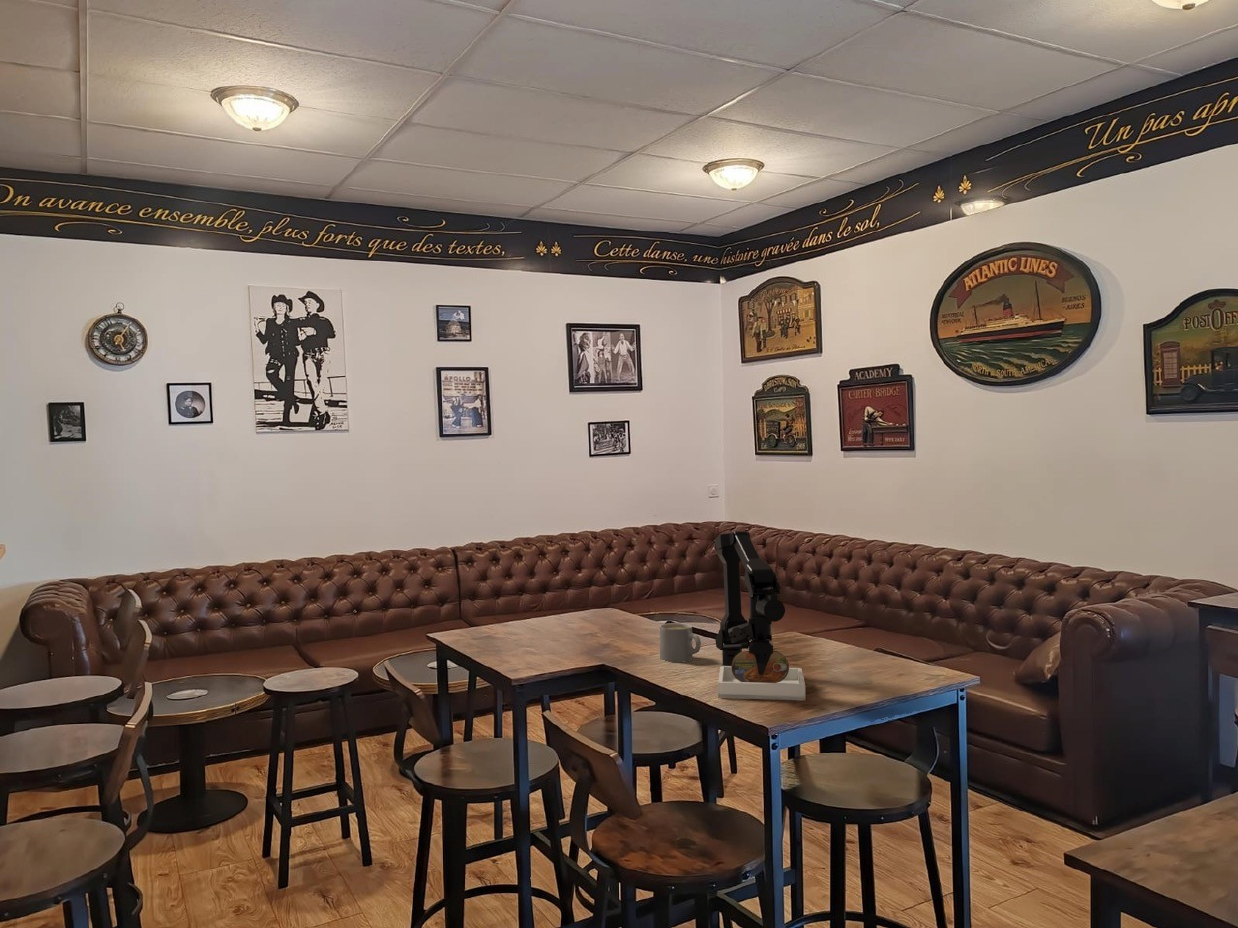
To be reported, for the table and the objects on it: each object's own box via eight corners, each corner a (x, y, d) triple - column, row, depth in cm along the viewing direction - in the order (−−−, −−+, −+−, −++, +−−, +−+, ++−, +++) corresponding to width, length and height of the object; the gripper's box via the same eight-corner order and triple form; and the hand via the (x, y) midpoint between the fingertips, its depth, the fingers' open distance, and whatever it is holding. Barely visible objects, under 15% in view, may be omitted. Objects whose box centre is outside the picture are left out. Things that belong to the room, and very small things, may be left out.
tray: (720, 680, 250) (720, 665, 250) (801, 682, 247) (801, 667, 247) (718, 697, 232) (718, 682, 232) (805, 700, 229) (805, 684, 229)
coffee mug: (653, 658, 277) (653, 626, 277) (675, 653, 284) (675, 621, 284) (685, 665, 267) (684, 632, 267) (707, 660, 274) (707, 627, 274)
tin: (731, 683, 239) (730, 651, 239) (732, 680, 242) (731, 649, 242) (789, 683, 237) (788, 651, 237) (789, 680, 240) (788, 648, 240)
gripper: (730, 607, 250) (730, 664, 250) (729, 620, 231) (729, 681, 231) (771, 608, 248) (771, 665, 248) (773, 621, 230) (773, 682, 230)
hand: (760, 673), depth 240 cm, fingers closed on tin, 2 cm apart
